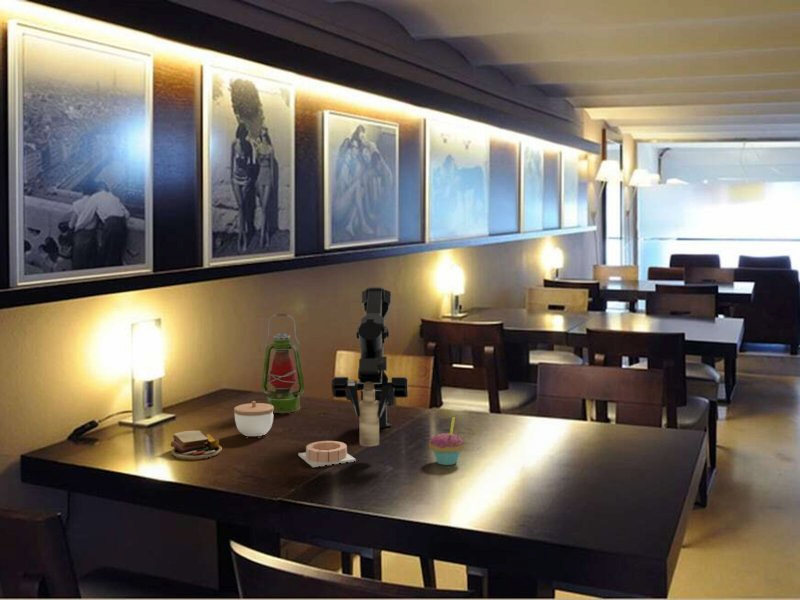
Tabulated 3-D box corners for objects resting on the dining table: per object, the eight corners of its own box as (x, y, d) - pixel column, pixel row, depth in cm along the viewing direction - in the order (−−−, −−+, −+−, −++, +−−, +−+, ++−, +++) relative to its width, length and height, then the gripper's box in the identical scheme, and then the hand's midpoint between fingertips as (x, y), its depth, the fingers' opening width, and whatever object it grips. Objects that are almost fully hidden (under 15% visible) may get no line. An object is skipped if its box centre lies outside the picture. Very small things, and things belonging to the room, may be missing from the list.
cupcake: (467, 459, 206) (467, 411, 205) (458, 469, 198) (458, 419, 197) (434, 456, 209) (434, 408, 208) (424, 465, 201) (424, 416, 200)
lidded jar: (282, 434, 230) (281, 401, 229) (250, 442, 223) (249, 407, 222) (258, 428, 238) (257, 395, 237) (226, 435, 230) (225, 401, 229)
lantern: (256, 413, 255) (253, 315, 252) (267, 405, 266) (265, 311, 263) (299, 414, 253) (298, 316, 250) (310, 406, 263) (308, 312, 260)
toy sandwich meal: (178, 464, 204) (178, 445, 204) (165, 450, 216) (164, 432, 216) (228, 456, 210) (228, 438, 210) (212, 444, 222) (212, 426, 222)
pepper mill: (356, 442, 206) (355, 380, 205) (374, 440, 208) (373, 378, 207) (364, 447, 202) (363, 384, 200) (382, 444, 204) (381, 382, 202)
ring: (298, 455, 210) (298, 443, 210) (339, 450, 215) (339, 438, 214) (312, 467, 200) (312, 454, 200) (355, 461, 205) (355, 449, 204)
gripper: (331, 344, 207) (327, 398, 197) (407, 344, 206) (406, 398, 196) (335, 370, 216) (331, 423, 206) (408, 370, 215) (407, 423, 205)
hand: (368, 416), depth 203 cm, fingers closed on pepper mill, 5 cm apart
